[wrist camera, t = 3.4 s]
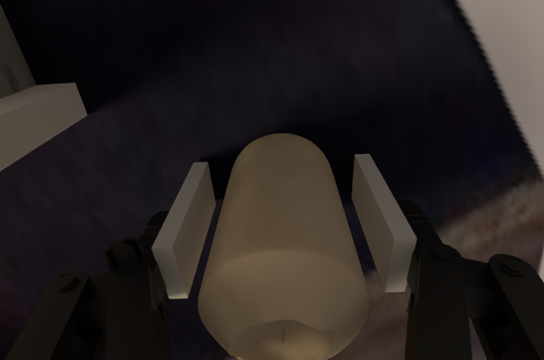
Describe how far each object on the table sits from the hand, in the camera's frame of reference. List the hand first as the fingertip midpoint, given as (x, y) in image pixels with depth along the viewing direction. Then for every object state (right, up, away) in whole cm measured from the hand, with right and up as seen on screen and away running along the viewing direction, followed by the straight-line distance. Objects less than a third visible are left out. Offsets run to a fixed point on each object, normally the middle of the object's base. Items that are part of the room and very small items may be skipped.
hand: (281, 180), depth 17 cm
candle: (0, 0, 0) cm, 0 cm away
